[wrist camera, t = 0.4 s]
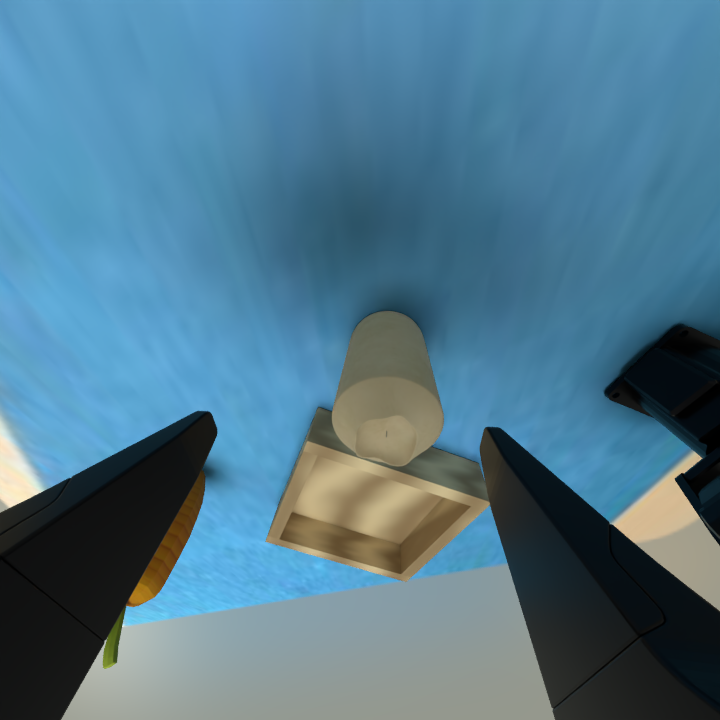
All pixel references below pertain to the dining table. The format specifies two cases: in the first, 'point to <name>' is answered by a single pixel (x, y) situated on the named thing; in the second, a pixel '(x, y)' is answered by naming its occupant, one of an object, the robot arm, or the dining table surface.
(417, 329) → the candle
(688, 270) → the dining table surface
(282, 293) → the dining table surface
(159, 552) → the carrot
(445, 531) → the box
